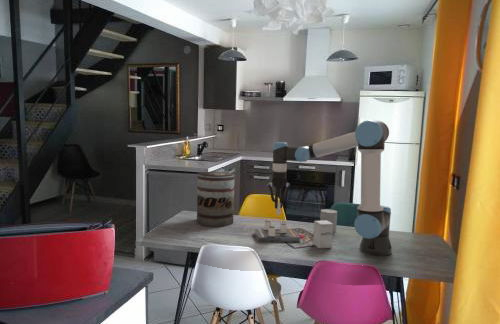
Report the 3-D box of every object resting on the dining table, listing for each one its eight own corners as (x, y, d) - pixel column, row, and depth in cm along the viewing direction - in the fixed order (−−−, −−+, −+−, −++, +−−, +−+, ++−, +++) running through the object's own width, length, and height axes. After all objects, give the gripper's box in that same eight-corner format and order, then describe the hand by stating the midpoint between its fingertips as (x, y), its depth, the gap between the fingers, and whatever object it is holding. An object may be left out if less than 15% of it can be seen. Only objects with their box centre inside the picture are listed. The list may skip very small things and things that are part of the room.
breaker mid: (286, 233, 198) (286, 224, 197) (280, 233, 198) (281, 224, 197) (285, 231, 201) (285, 223, 200) (279, 231, 200) (280, 223, 200)
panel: (299, 241, 193) (300, 236, 193) (258, 242, 190) (259, 237, 190) (292, 233, 208) (292, 228, 207) (254, 233, 205) (254, 229, 204)
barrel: (191, 225, 218) (192, 175, 214) (203, 216, 240) (204, 170, 236) (227, 228, 213) (229, 177, 210) (236, 218, 235) (238, 172, 232)
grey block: (337, 234, 209) (339, 213, 208) (321, 233, 209) (322, 212, 208) (334, 229, 218) (335, 209, 217) (318, 228, 219) (319, 208, 217)
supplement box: (319, 248, 183) (320, 224, 182) (312, 244, 190) (313, 220, 189) (332, 247, 185) (333, 223, 184) (325, 243, 192) (326, 219, 191)
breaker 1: (270, 230, 202) (271, 221, 202) (265, 230, 202) (265, 221, 201) (269, 228, 205) (270, 220, 204) (264, 228, 204) (264, 220, 204)
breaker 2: (274, 236, 191) (275, 227, 191) (268, 236, 191) (269, 227, 191) (273, 234, 194) (274, 226, 194) (268, 234, 194) (268, 226, 193)
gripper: (289, 170, 200) (288, 212, 202) (266, 170, 198) (265, 212, 200) (293, 172, 192) (291, 215, 195) (268, 171, 190) (267, 216, 193)
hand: (278, 214), depth 197 cm, fingers closed
